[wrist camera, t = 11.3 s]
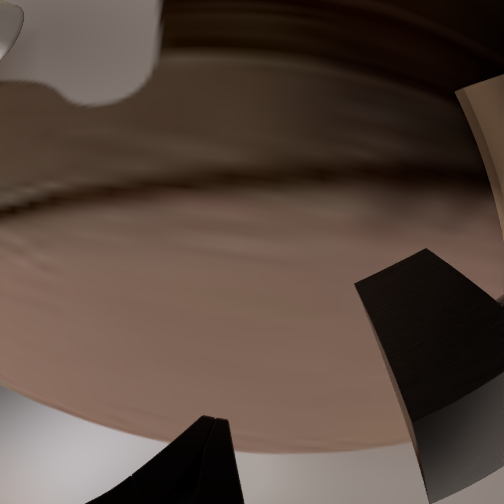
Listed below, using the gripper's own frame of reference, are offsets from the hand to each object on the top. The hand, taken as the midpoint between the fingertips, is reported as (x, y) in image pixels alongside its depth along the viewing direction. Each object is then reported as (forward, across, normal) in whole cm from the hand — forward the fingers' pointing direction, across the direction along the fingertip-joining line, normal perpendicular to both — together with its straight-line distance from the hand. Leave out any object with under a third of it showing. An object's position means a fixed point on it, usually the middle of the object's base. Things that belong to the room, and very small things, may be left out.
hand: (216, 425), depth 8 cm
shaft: (+2, -14, -9) cm, 16 cm away
